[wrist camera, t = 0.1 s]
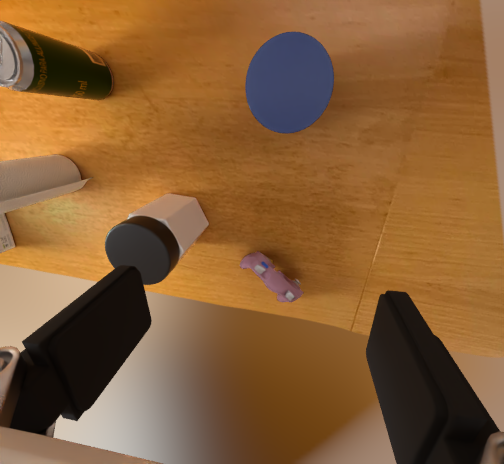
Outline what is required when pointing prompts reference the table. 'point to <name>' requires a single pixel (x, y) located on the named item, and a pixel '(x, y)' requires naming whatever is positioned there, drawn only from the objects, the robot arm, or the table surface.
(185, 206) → the jar
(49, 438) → the robot arm
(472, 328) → the table surface
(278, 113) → the lid
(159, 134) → the table surface
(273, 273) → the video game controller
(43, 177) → the paper towel roll
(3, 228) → the tea box
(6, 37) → the beer can
